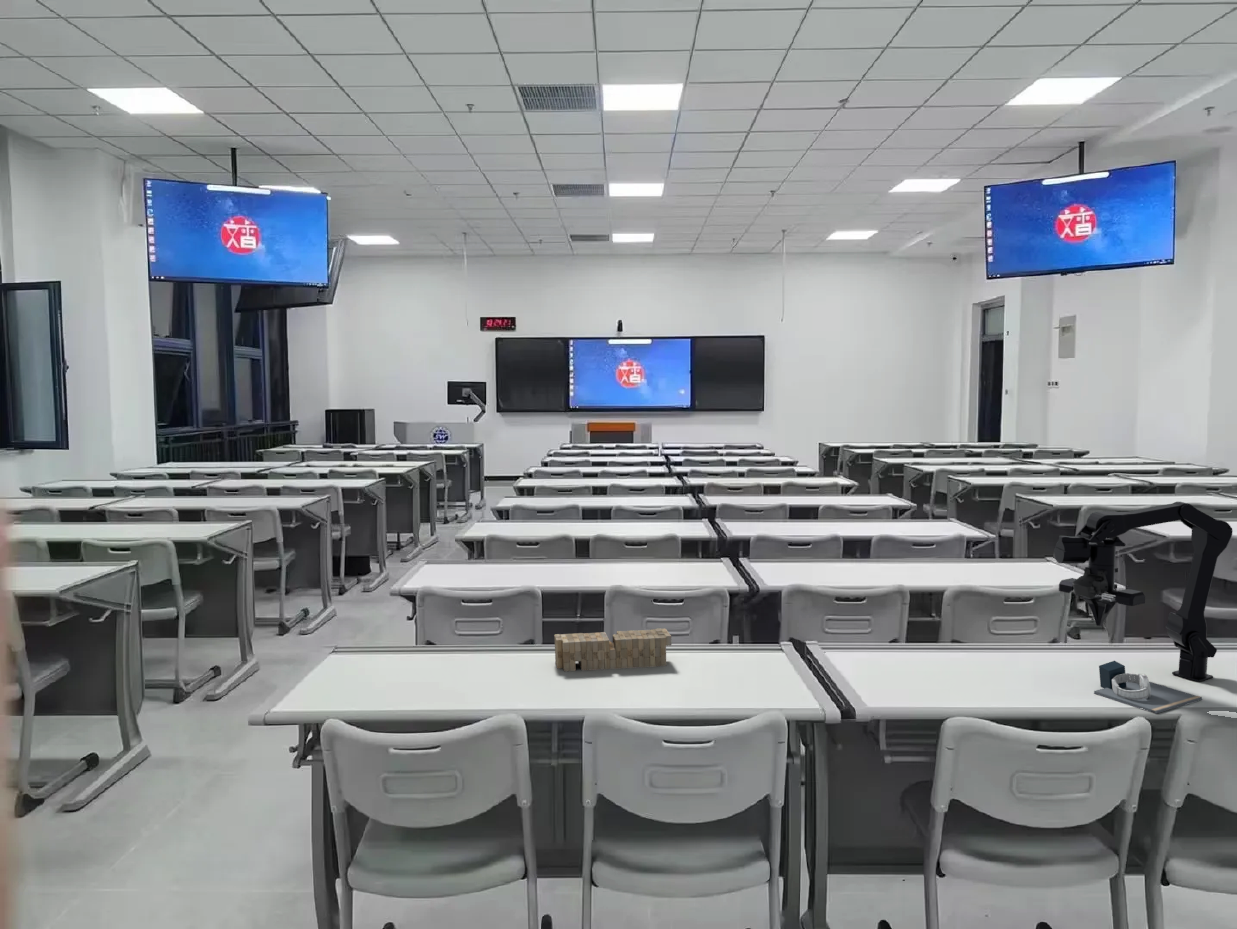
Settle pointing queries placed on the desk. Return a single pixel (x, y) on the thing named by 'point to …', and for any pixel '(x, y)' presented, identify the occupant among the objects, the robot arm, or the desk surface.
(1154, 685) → the mat
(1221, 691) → the desk surface
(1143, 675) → the watch
